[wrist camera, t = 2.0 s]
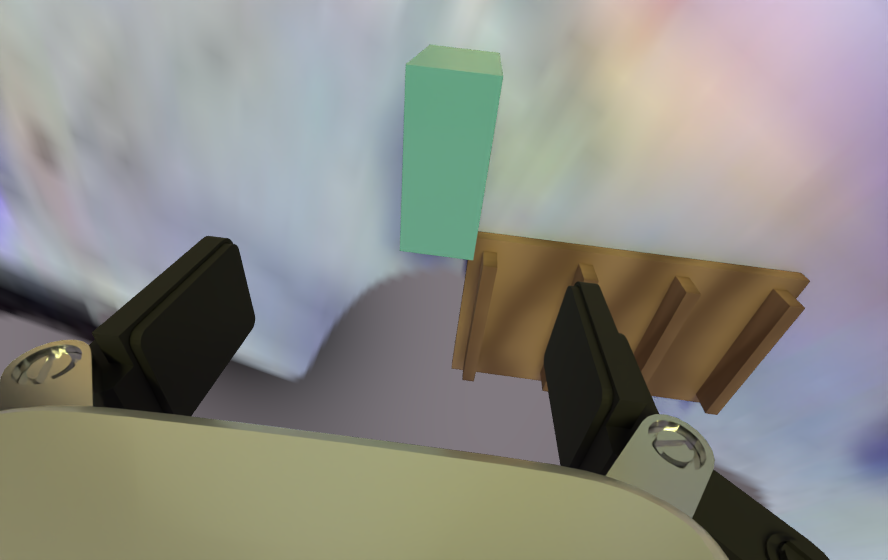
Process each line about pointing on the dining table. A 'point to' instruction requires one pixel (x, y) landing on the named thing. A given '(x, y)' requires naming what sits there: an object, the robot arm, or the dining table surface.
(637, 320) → the rack
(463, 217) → the block
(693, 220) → the dining table surface
